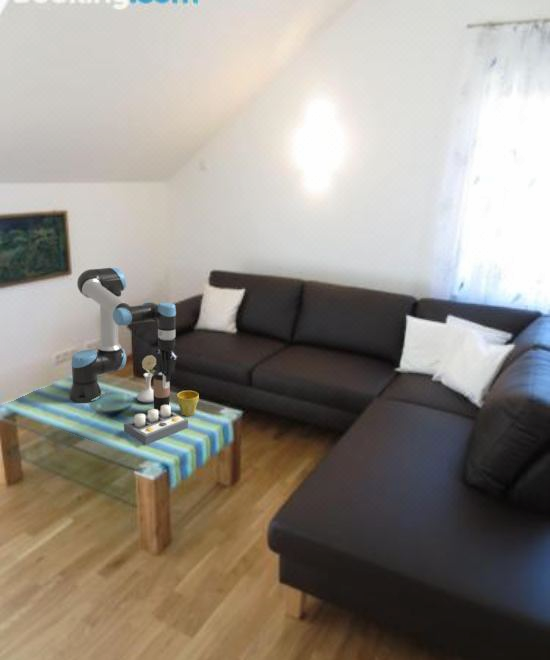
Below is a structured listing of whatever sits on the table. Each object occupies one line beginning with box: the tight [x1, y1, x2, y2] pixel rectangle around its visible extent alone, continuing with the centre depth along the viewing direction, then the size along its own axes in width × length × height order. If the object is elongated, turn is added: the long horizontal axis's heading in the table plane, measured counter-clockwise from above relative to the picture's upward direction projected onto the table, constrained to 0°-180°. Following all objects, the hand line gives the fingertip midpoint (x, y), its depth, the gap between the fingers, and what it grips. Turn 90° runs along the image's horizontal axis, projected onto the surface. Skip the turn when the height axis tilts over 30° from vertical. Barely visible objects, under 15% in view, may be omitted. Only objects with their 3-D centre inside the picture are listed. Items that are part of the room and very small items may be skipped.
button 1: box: [134, 413, 146, 429], centre depth 217 cm, size 5×5×5 cm
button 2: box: [147, 408, 158, 424], centre depth 222 cm, size 5×5×5 cm
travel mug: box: [153, 369, 171, 411], centre depth 238 cm, size 8×8×20 cm
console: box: [123, 411, 189, 446], centre depth 222 cm, size 16×23×4 cm
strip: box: [140, 415, 186, 434], centre depth 219 cm, size 4×21×1 cm, turn 140°
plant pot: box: [176, 390, 200, 417], centre depth 240 cm, size 10×10×10 cm
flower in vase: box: [136, 354, 157, 403], centre depth 248 cm, size 13×11×25 cm
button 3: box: [160, 404, 172, 419], centre depth 228 cm, size 5×5×5 cm
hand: (166, 387), depth 224 cm, fingers closed
